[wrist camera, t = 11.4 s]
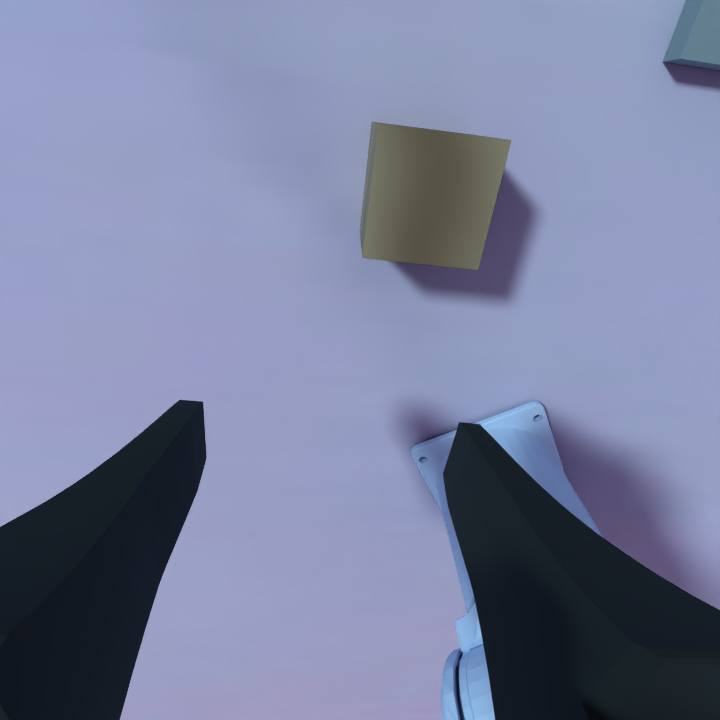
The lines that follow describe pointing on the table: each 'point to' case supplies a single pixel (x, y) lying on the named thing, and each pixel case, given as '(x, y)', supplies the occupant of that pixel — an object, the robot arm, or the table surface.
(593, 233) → the table surface
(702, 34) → the rubber mat
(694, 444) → the table surface
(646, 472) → the table surface
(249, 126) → the table surface
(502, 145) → the plain olive brown cube
